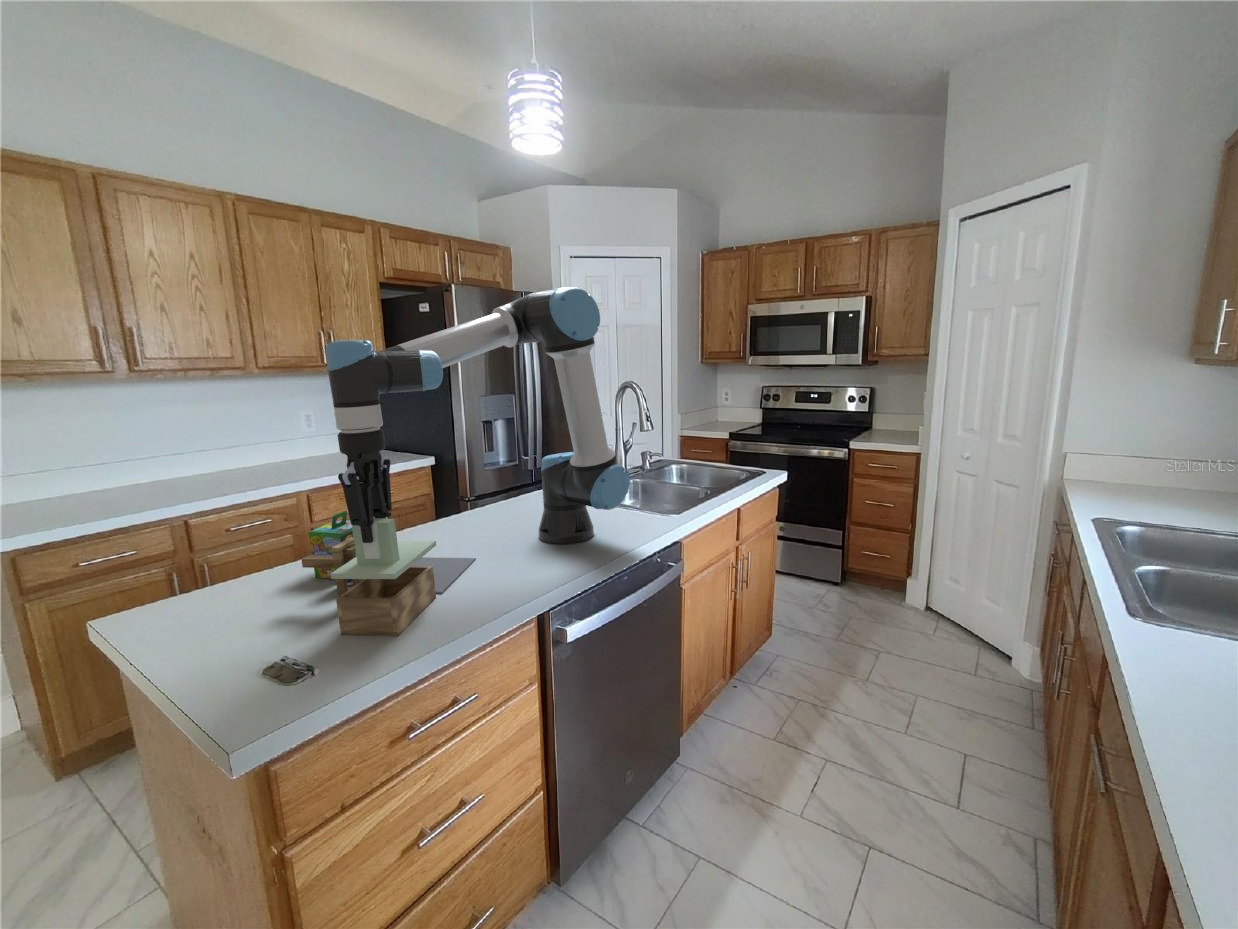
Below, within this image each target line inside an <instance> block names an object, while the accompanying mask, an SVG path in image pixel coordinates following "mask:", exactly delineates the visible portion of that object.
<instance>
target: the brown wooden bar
mask: <svg viewBox="0 0 1238 929" xmlns="http://www.w3.org/2000/svg"><path fill="white" fill-rule="evenodd" d="M343 556H344V564H346V563H347V562H349V561H351V560H352V559H354V558H355V557H356V551H355V546H349V547H347V548H345V549H344V550H343ZM300 559H301V566H302V568H308V569H309V568H311V569H312V568H313V569H314V568H334V563H333V556H332V555H312V554H308V555H306V556H304V557H303V558H300Z"/></svg>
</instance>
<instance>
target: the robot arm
mask: <svg viewBox="0 0 1238 929" xmlns="http://www.w3.org/2000/svg"><path fill="white" fill-rule="evenodd" d="M491 311H492V312H491V314H488V315H485V316H482V317H479V318H476V319H473V320H469V321H466V322H463V323H460V324H457V325H454V326H451V327H448V328H446V329H442V330H439V331H436V332H433V333H431V334H427V335H423V336H421V337H418V338H415V339H412V340H408V341H407V342H403V343H400V344H397V345H394V346H390V347H387V348H384V349H382V350H379V351H376V350H375V349H374V347H373V346H374V345H373V343H372V341H371V340H368V339H367V340H366V339H365V340H364V339H363V340H360V339H359V340H353V339H352V340H335V341H330V342H328V343H327V344H326V347H325V356H326V357H325V358H326V359H325V360H326V370H327V371H326V372H327V374H328V380H329V386H330V392H331V397H332V405H333V411H334V417H335V426H336V429H337V430H339V432H338V434H337V441H338V448H339V452H340V453H341V454H342V455H345V456H346V457H347V458H346V459H347V460H346V461H347V462H346V468H347V469H346V470H345V472H344V473H343V472H342V473H338V477H337V478H338V479H337V480H338V481H339V482H340V484H341V486H342V490H343V495H344V499H345V503H346V509H347V514H348V516H349V521H350V522H351V525H359V526H360V529H361V535H362V541H363V547H364V554H365V559H379V558H381V552H380V545H379V537H378V530H377V523H373V519H387V518H391V516H392V512H391V511H392V508H393V507H392V491H391V490H392V488H391V477H390V476H391V474H390V470H391V460H390V459H385V458H382V454H381V451H383V450H385V448H386V439H385V438H386V436H385V430H383V428H381V427H382V426H383V425H384V421H383V414H382V408H381V400H380V395H381V394H385V395H386V394H390V393H403V392H404V393H409V392H418V391H419V392H421V391H422V392H425V391H429V390H435V389H437V388H439V387H440V385H441V384H442V382H443V378H444V371H443V370H444V368H448V367H449V366H452V365H454V364H457V363H461V362H463V361H465V360H468V359H471V358H474V357H476V356H479V355H481V354H484V353H488V352H489V351H492V350H496V349H497V348H501V347H503V346H504V347H506V348H513V347H515V346H519V345H522V344H523V345H524V344H530V343H531V344H532V343H543V346H544V349H545V354H546V355H548V356H550V357H551V358H553V360H554V366H555V369H556V375H557V379H558V380H557V381H558V384H559V389H560V393H561V399H562V403H563V408H564V411H565V416H566V417H565V418H566V422H567V426H568V427H567V428H568V431H569V435H570V436H569V437H570V440H571V445H572V450H573V451H569V452H568V451H567V452H559V453H555V454H549V455H546V456H544V457H542V459H541V466H540V467H541V468H540V473H541V488H542V500H543V501H542V502H543V512H542V515H541V519H540V523H539V527H538V538H539V540H541V541H542V542H544V543H548V544H556V545H565V544H566V545H567V544H576V543H579V542H580V543H581V542H583V541H587V540H589V539H591V538H592V537H593V536H594V523H593V522H592V519H591V516H590V513H589V511H588V508H587V506H588V507H592V508H593V509H596V510H604V511H605V510H607V511H609V510H610V511H611V510H614V509H616V508H617V507H619V506H620V505H621V504H622V503H623V501H624V500H625V498H626V496H627V494H628V492H629V489H630V483H631V482H630V481H631V480H630V474H629V472H628V470H627V469H626V468H625V467H624V466H623V465H622V464H618V461H617V455H616V451H615V450H613V449H612V448H610V447H609V446H608V440H607V434H606V431H605V430H606V429H605V423H604V420H603V415H602V414H603V413H602V409H601V404H600V398H599V392H598V388H597V382H596V378H595V371H594V368H593V361H592V358H591V351H592V348H594V346H595V335H596V334H597V333H598V331H599V327H600V324H601V314H600V308H599V306H598V304H597V302H596V300H595V298H594V297H593V296H592V295H591V294H589V293H588V292H587V291H586V290H585V289H583V288H580V287H576V286H569V287H568V286H565V287H564V286H562V287H558V288H554V289H549V290H543V291H536V292H532V293H529V294H527V295H524V296H522V297H519V298H517V299H515V300H513V301H510V302H508V303H506V304H503V305H501V306H497V307H495V308H493V310H491Z"/></svg>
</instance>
